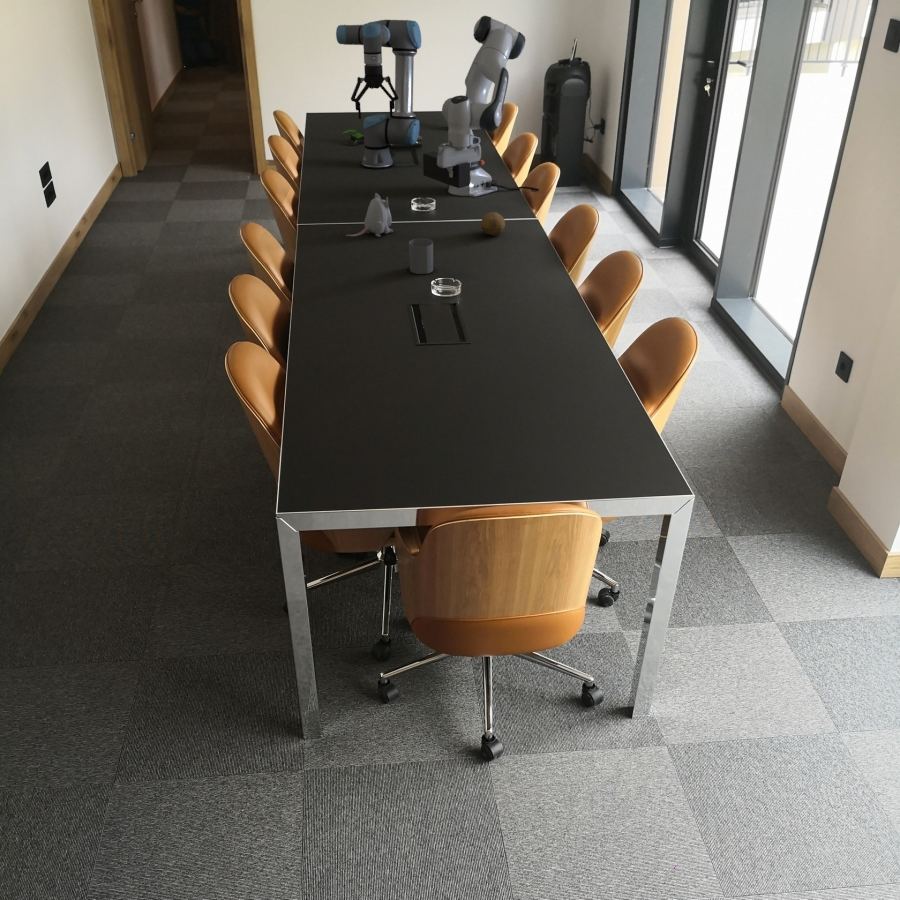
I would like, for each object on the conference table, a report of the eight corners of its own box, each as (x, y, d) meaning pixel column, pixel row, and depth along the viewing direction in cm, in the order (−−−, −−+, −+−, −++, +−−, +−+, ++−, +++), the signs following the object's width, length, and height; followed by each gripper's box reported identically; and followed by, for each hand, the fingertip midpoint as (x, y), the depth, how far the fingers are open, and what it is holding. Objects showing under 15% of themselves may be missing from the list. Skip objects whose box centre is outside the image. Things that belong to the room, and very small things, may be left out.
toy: (398, 232, 342) (397, 194, 334) (353, 246, 328) (351, 207, 320) (383, 227, 348) (381, 189, 340) (338, 241, 333) (335, 202, 325)
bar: (423, 175, 365) (423, 153, 361) (434, 173, 368) (434, 151, 364) (458, 188, 350) (458, 165, 345) (469, 185, 353) (470, 163, 348)
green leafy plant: (396, 126, 467) (340, 124, 465) (396, 141, 460) (339, 139, 458) (396, 136, 472) (341, 134, 470) (396, 151, 465) (340, 149, 463)
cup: (409, 265, 311) (408, 238, 306) (432, 265, 312) (431, 238, 307) (410, 274, 304) (409, 246, 299) (433, 273, 305) (433, 246, 299)
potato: (502, 228, 347) (503, 208, 342) (507, 239, 335) (507, 219, 331) (478, 228, 346) (478, 208, 342) (481, 240, 334) (482, 219, 330)
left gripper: (344, 66, 357) (347, 120, 369) (404, 65, 361) (405, 118, 373) (342, 63, 364) (345, 116, 375) (401, 62, 368) (402, 114, 379)
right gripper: (443, 145, 336) (443, 181, 344) (483, 138, 347) (482, 173, 355) (433, 142, 341) (433, 178, 348) (473, 135, 351) (473, 169, 359)
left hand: (375, 117), depth 374 cm, fingers open, 13 cm apart
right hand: (458, 175), depth 351 cm, fingers closed on bar, 6 cm apart
